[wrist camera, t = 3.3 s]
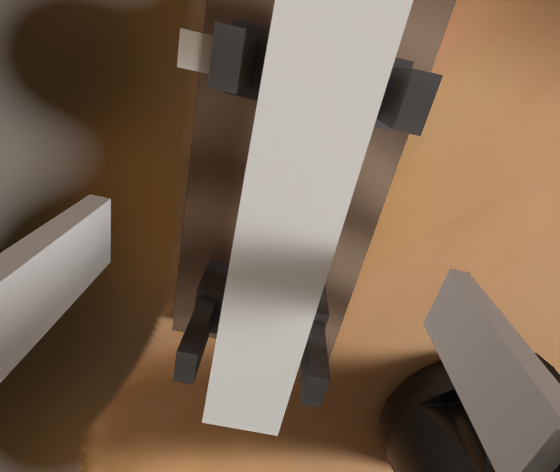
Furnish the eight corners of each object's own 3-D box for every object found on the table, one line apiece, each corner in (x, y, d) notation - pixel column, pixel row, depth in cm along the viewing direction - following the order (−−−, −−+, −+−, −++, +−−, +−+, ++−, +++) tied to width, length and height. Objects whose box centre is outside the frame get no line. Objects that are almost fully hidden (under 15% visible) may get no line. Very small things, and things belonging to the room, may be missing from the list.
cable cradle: (327, 346, 29) (340, 463, 21) (178, 317, 29) (127, 425, 20) (446, -2, 19) (571, -57, 10) (220, -58, 18) (153, -166, 10)
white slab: (281, 365, 24) (277, 435, 19) (220, 353, 23) (201, 422, 19) (380, 11, 15) (417, -12, 11) (286, -12, 15) (282, -46, 10)
